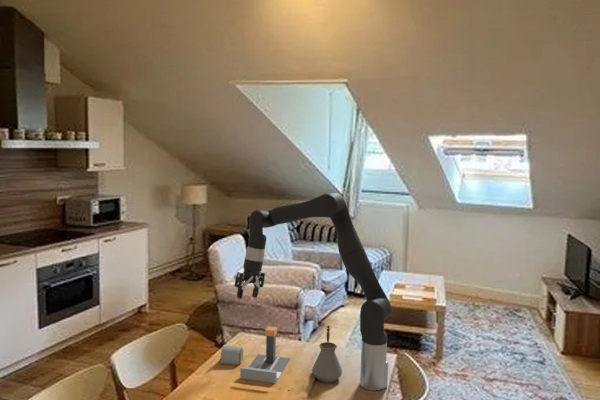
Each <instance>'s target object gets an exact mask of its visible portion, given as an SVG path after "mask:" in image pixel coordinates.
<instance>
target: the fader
mask: <svg viewBox="0 0 600 400" xmlns="http://www.w3.org/2000/svg"><path fill="white" fill-rule="evenodd" d="M264 331H265V333H264V336H266V338H265V339H266V343H265V344H266V345H265V348H266V349H265V351H266V352H265V355H266V362H272V363H273V362H274V361H275V356H276V354H277V353H276V350H277V349H276V348H277V347H276V346H277V345H276V344H277V341H276V339H277V334H278V327H277V326H267V327H266V328H265V329H264Z"/></svg>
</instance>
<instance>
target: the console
mask: <svg viewBox="0 0 600 400" xmlns="http://www.w3.org/2000/svg"><path fill="white" fill-rule="evenodd" d="M290 360H291V358H290V357H283V356H277V355H275V361H274V362H273V363H272V362H266V354H259V353H258V354H257V355H256V356H255V357H254V359H253V360H252V362H251V363H250V364H249V365H248V366H241V367H240V370H239V371H240V372H239V373H240V374H239V377H240V378H239V379H240V380H245V381H246V380H247V381H255V382H261V383H269V384H275V385H276V384H277V382H278V380H279V379H280V377H281V376H282V375H283V372H284V371H285V369H286V367H287V365H288V364H289V362H290Z"/></svg>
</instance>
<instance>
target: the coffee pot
mask: <svg viewBox="0 0 600 400" xmlns="http://www.w3.org/2000/svg"><path fill="white" fill-rule="evenodd" d="M325 329H326V341H325V342H321V343H319V345H318V346H319V348H320V352H319V354H318V356H317V358H316V360H315V362H314V363H313V366H312V369H311V371H312V374H313V376H314V377H315V378H316V379H317V380H318V381H320V382H322V383H333V382H336V381H337V380H338V379H339V378H340V377H341V376H342V374H343V370H342V369H343V368H342V366H341V365H340V362H339V358H338V356H337V354H336V349H337V347H338V346H337V344H335V343H333V342H330V336H331V335H330V331H331V325H328V324H327V326H326V327H325Z"/></svg>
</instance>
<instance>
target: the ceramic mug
mask: <svg viewBox="0 0 600 400" xmlns="http://www.w3.org/2000/svg"><path fill="white" fill-rule="evenodd" d="M243 358H244V348H243V347H241V346H237V345H231V344H230V345H229V344H223V345H222V348H221V352H220V364H221V365H233V366H234V365H235V366H238V365H241V364H242V362H243V361H244V359H243Z"/></svg>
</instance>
